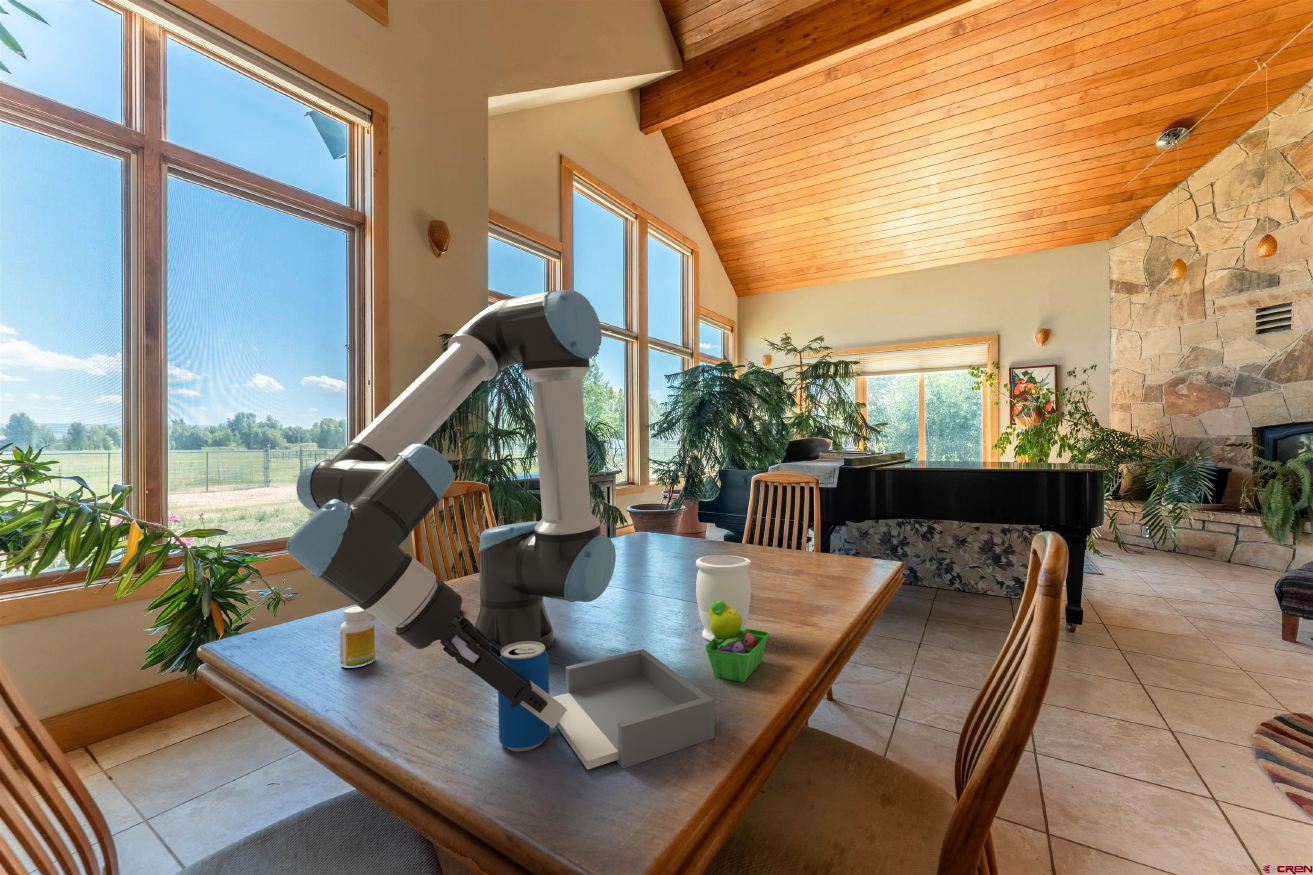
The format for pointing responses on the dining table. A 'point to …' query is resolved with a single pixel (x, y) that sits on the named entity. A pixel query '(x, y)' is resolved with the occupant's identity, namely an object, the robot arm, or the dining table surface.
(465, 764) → the dining table surface
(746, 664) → the fruit basket
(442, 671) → the dining table surface
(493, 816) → the dining table surface
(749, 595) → the jar
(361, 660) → the supplement bottle
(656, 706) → the tray
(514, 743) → the beverage can
